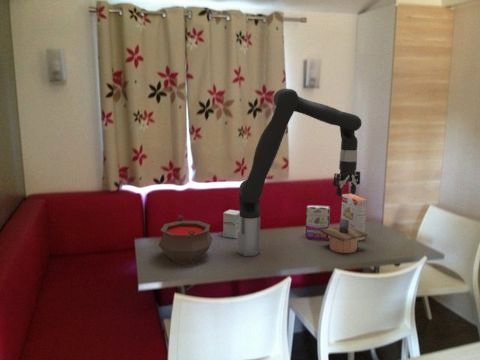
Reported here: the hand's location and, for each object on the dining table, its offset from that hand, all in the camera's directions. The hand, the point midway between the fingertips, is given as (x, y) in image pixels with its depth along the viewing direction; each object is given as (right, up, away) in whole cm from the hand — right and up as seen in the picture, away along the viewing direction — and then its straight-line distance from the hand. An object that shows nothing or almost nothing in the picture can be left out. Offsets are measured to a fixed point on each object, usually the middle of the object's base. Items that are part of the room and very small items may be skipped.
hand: (346, 194), depth 190 cm
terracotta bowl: (0, -25, +5) cm, 26 cm away
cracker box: (+8, -22, +22) cm, 32 cm away
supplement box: (-52, -22, +21) cm, 60 cm away
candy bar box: (-10, -23, +19) cm, 31 cm away
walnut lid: (0, -18, +4) cm, 19 cm away
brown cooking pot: (-72, -27, -7) cm, 77 cm away
